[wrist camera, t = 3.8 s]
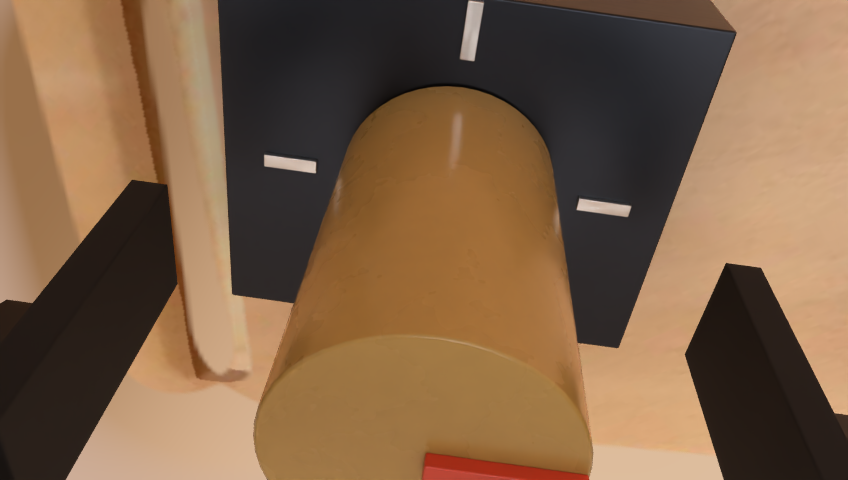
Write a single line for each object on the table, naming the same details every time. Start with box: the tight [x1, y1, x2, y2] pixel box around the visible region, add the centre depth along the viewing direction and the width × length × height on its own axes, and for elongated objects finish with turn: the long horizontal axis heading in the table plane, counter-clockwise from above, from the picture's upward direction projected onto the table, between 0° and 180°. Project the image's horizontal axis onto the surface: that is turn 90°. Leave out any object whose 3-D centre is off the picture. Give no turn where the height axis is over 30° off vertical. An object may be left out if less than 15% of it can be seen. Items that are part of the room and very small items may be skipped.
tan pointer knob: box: [253, 86, 593, 480], centre depth 15 cm, size 6×6×9 cm
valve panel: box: [218, 0, 736, 348], centre depth 20 cm, size 12×10×3 cm
